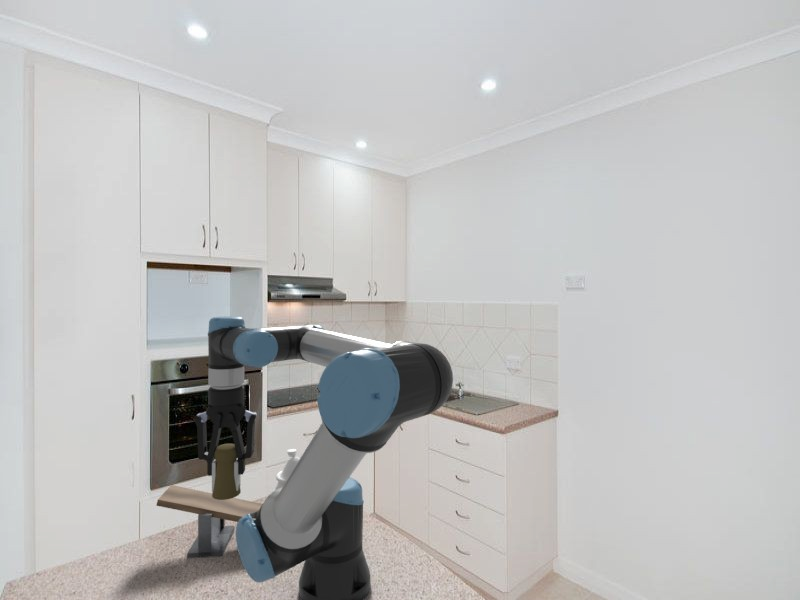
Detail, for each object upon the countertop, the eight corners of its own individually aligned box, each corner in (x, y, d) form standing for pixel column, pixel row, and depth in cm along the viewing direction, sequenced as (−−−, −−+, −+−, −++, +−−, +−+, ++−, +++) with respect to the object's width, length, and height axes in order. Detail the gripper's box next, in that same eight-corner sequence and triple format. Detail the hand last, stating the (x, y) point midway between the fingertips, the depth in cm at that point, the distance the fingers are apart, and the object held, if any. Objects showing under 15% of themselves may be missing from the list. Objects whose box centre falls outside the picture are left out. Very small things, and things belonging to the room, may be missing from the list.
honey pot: (263, 514, 126) (263, 451, 125) (303, 500, 134) (303, 441, 134) (285, 533, 116) (285, 464, 116) (327, 516, 125) (327, 453, 124)
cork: (230, 501, 96) (230, 451, 96) (206, 498, 98) (206, 448, 97) (246, 489, 102) (246, 441, 102) (222, 486, 104) (222, 439, 103)
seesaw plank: (255, 530, 108) (257, 521, 108) (154, 509, 105) (156, 500, 105) (262, 511, 117) (264, 503, 117) (169, 492, 114) (172, 483, 114)
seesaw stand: (222, 556, 106) (222, 514, 106) (187, 558, 105) (187, 516, 105) (234, 530, 117) (234, 492, 117) (203, 531, 116) (202, 494, 116)
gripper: (268, 381, 104) (268, 480, 105) (192, 382, 102) (192, 482, 103) (262, 388, 97) (262, 494, 97) (180, 389, 95) (180, 498, 95)
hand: (226, 488), depth 100 cm, fingers closed on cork, 4 cm apart
